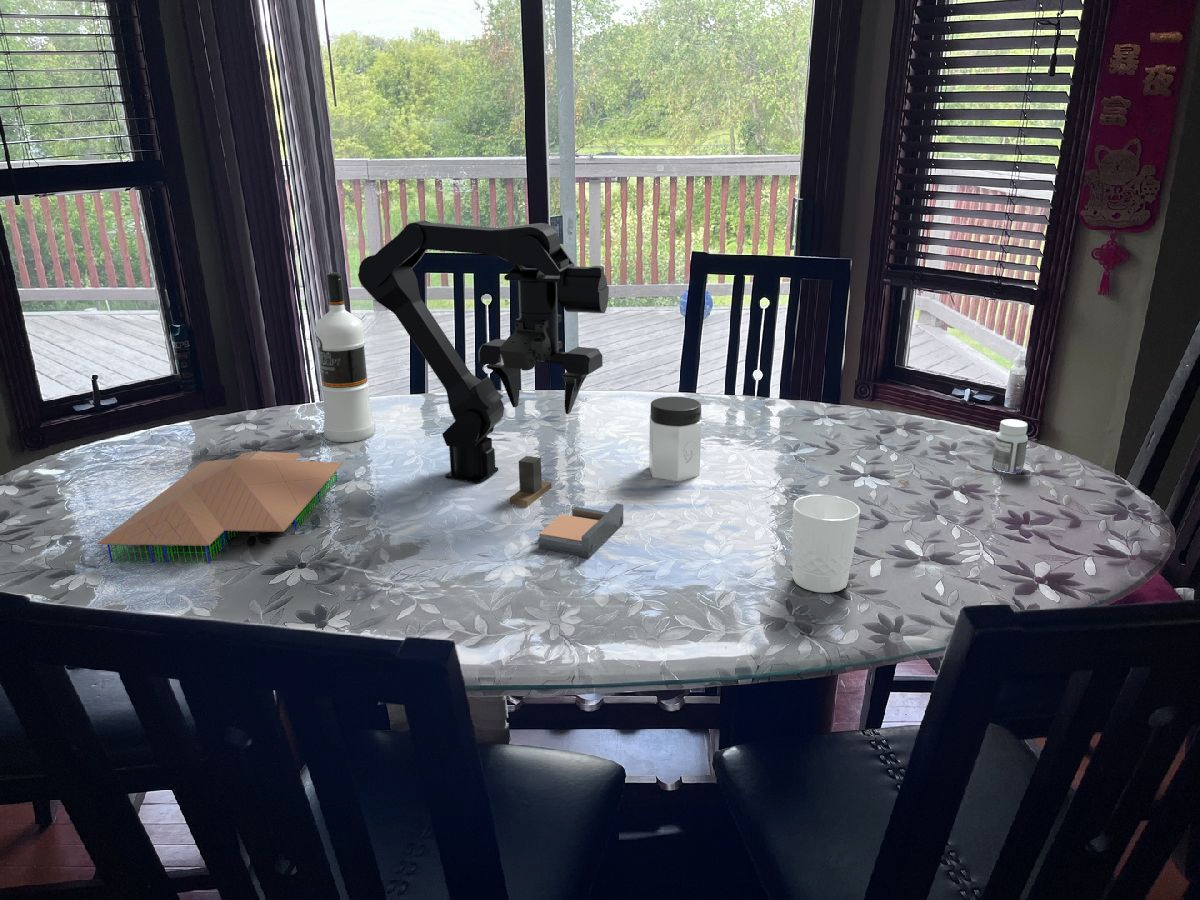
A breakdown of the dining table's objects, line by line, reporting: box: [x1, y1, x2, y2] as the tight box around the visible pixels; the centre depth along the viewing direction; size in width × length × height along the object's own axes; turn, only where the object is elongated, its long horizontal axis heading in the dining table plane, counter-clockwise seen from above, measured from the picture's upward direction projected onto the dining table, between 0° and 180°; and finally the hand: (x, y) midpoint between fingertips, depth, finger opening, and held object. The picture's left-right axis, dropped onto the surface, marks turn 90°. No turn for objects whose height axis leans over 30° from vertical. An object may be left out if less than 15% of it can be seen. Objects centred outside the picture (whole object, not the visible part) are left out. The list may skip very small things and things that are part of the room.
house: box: [96, 450, 343, 564], centre depth 130 cm, size 23×33×8 cm
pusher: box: [509, 455, 552, 508], centre depth 136 cm, size 3×8×6 cm, turn 156°
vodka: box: [314, 271, 377, 443], centre depth 159 cm, size 9×9×30 cm
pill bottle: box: [991, 418, 1029, 472], centre depth 145 cm, size 5×5×8 cm
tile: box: [538, 514, 599, 542], centre depth 124 cm, size 7×7×2 cm
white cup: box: [791, 494, 861, 594], centre depth 109 cm, size 8×8×10 cm
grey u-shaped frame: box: [538, 503, 624, 560], centre depth 123 cm, size 8×12×3 cm, turn 156°
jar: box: [648, 396, 702, 482], centre depth 144 cm, size 9×8×12 cm
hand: (541, 410), depth 139 cm, fingers open, 9 cm apart
